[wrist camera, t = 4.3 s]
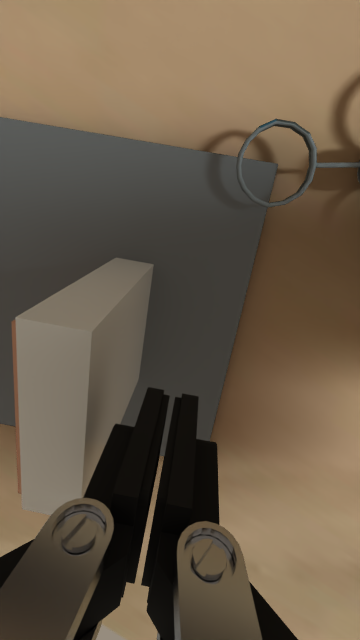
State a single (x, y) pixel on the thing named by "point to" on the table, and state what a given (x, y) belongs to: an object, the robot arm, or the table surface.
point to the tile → (75, 378)
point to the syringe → (312, 161)
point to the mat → (132, 247)
